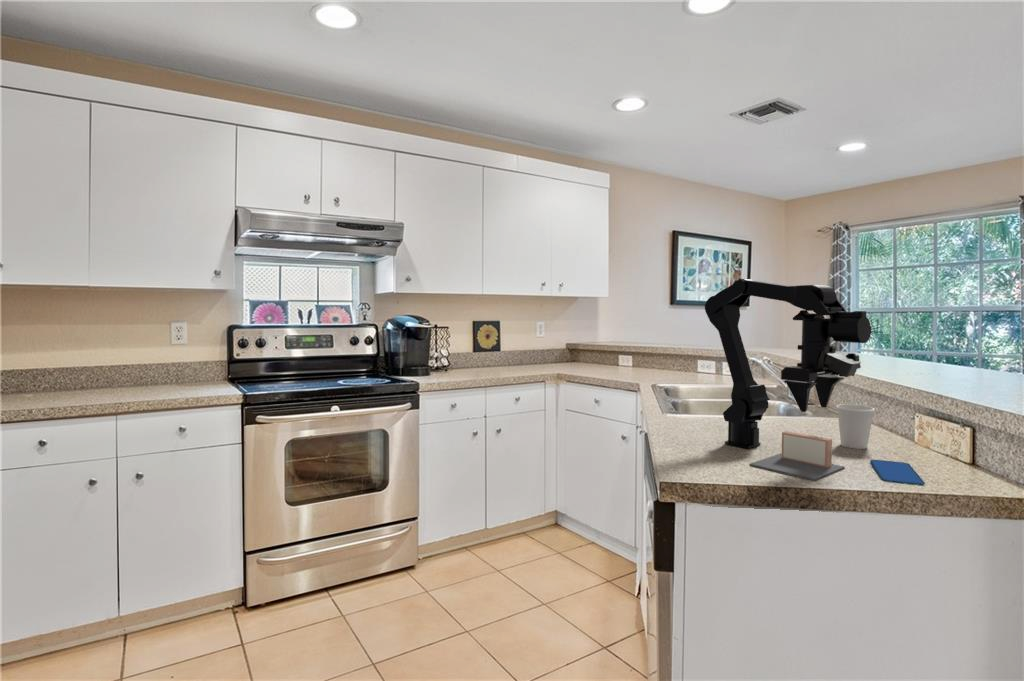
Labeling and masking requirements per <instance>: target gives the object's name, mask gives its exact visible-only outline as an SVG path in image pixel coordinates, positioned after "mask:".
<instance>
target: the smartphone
mask: <svg viewBox="0 0 1024 681" xmlns="http://www.w3.org/2000/svg"><path fill="white" fill-rule="evenodd" d="M870 465H871V467H872V468H873V470H874V471H875V472H876V474H877V476H878V477H879V479H880V478H881V479H880V480H881V481H882V480H883V482H886V483H895V482H896V484H904V483H907V484H906V485H914V484H919V485H918V486H924V485H923V484H926V483H925V480H923V479H922V478H921V476H920V475H919V474H918V472H916V470H915V469H914V468H913V467H912V466H911V465H910V463H907V462H904V461H893V460H883V459H870Z"/></svg>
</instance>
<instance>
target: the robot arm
mask: <svg viewBox="0 0 1024 681" xmlns="http://www.w3.org/2000/svg"><path fill="white" fill-rule="evenodd" d="M750 297H757V298H762V299H769V300H775V301H782V302H786V303H789V304H790V305H792V306H794V307H796V308H798V309H800V311H799V312H798V313H797V314H796V315H794V316H793V317H792V320H793V321H801V322H802V324H801V325H802V326H801V344H798V345H797V350H798V351H799V350H800V352H801V353H800V354H801V356H800V362H797V366H795V365H792V366H784V367H783V368H782V369H781V371H780V380H782V381H783V382H784V383H785V384H786V385H787V387H788V389H789V390H790V392H791V395H792V396H793V399H794V400H795V402H796V404H797V406H798V408H799V411H800V412H802V413H806V412H807V411H808V407H809V406H808V405H809V401H810V400H809V399H810V393H811V389H812V388H813V387H815V391H816V395H817V397H818V401H819V404H820V407H821V408H827V407H828V404H829V401H830V399H831V396H832V394H833V391H834V388H835V386H836V385H837V384H838V383H839V382H841V381H843V380H844V379H845V378H848V377H855V374H856V372H857V370H858V369H861V368H862V366H861V363H862V362H861V361H860V355H859V354H857V353H854V352H849V353H847V354H846V355H845V354H840V353H837V352H836V349H837V348H836V346H835V345H831V339H832V340H833V341H834V342H835V343H851V344H867V342H868V341H869V340H870V338H871V334H872V325H871V322H870V320H869V318H868V316H867V311H866V310H855V311H847V310H846V308H844V306H843V305H842V304H841V302H840V300H838V298H837V294H836V291H835V290H834V287H832V286H829V285H824V284H823V285H822V284H821V285H820V284H805V285H803V284H802V285H801V284H800V285H787V284H780V283H775V282H773V283H771V282H767V281H759V280H754V279H752V278H739V279H737V280H735V281H734V282H733V283H732V284H731V285H729V286H728V287H725V288H724V289H722V290H720V291H718V292H717V293H716V294H715V295H711V296H710V297H708V298H707V300H706V303H704V310H705V313H706V316H707V318H708V320H709V322H710V324H712V326H714V328H716V330H717V332H718V334H719V338H720V342H721V346H722V349H723V352H724V356H725V359H726V362H727V365H728V366H727V367H728V370H729V372H730V375H731V380H732V389H731V392H730V393H731V394H730V397H731V398H730V399H731V405H730V406H729V407H728V408H726V409H725V410H724V411H723V412H722V415H723V419H724V421H725V422H728V426H727V430H728V431H727V433H728V434H727V440H726V441H724V444H725V445H729V444H730V445H729V446H735V447H738V448H745V449H750V448H754V447H756V446H757V447H758V446H760V445H761V442H760V428H759V427H758V424H759V423H758V421H761V420H762V418H763V416H764V414H765V413H766V412H767V410H768V408H769V401H770V398H769V396H768V393H767V389H766V385H765V384H758V383H757V382H756V381H755V379H754V376H753V373H752V370H751V365H750V363H749V360H748V356H747V353H746V349H745V346H744V342H743V339H742V336H741V331H740V329H739V322H740V320H741V319H740V318H741V311H740V309H741V308H742V307H743V306H744V305H745V304H747V302H748V300H749V298H750ZM801 309H802V310H801ZM809 311H811V313H810V312H809ZM812 312H814V313H812ZM825 316H829V317H828V318H826V317H825Z"/></svg>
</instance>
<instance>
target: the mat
mask: <svg viewBox="0 0 1024 681" xmlns="http://www.w3.org/2000/svg"><path fill="white" fill-rule="evenodd" d="M781 457H782V452H780V453H778V454H776V455H772V456H769V457H765V458H763V459H760V460H757V461H753V462H751V463H749V466H751V467H755V468H758V469H763V470H768V471H771V472H775V473H779V474H784V475H789V476H792V477H798V478H801V479H804V480H809V481H813V482H815V481H819V480H820V479H824V478H825V477H828V476H831V475H832V474H835V473H837V472H840V471H843V470H845V468H846V466H843V465H840V464H839V465H838V464H831V467H828V468H825V467H821V466H816V465H812V464H807V463H802V462H798V461H793V460H789V459H784V458H781Z"/></svg>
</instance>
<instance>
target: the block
mask: <svg viewBox="0 0 1024 681" xmlns="http://www.w3.org/2000/svg"><path fill="white" fill-rule="evenodd" d="M781 453H782V457H781V458H784V459H789V460H793V461H798V462H802V463H807V464H812V465H816V466H821V467H825V468H828V467H831V464H832V462H833V460H832V459H833V438H827V437H822V436H817V435H810V434H806V433H805V434H804V433H801V432H800V433H798V432H794V431H793V432H792V431H789V430H788V431H787V430H785V431H782V433H781Z"/></svg>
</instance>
